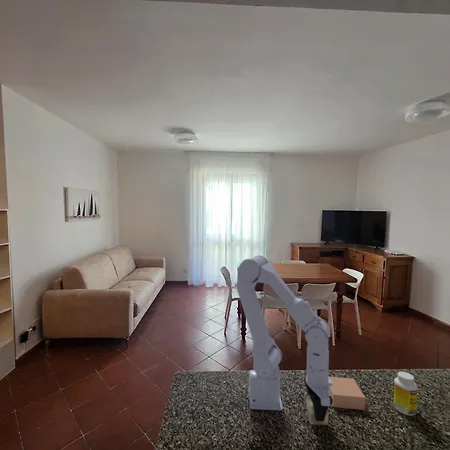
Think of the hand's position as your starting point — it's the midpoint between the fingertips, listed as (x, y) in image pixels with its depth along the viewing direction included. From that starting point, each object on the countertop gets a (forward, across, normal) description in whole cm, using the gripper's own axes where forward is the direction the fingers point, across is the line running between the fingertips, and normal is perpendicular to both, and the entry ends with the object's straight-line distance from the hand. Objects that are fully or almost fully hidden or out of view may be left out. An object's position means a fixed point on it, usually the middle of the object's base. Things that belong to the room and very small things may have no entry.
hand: (316, 413), depth 72 cm
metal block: (+1, 0, 0) cm, 1 cm away
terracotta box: (+2, +9, -11) cm, 14 cm away
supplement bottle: (+2, +5, -27) cm, 28 cm away
